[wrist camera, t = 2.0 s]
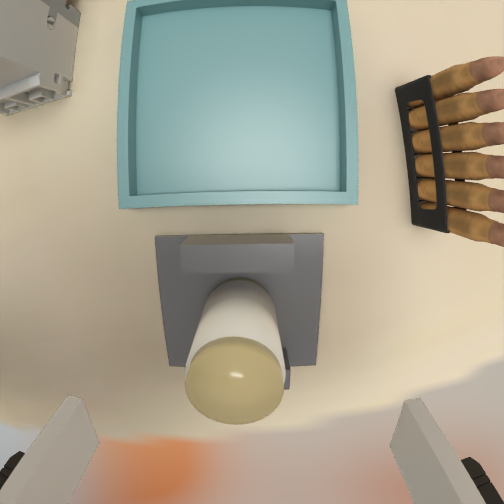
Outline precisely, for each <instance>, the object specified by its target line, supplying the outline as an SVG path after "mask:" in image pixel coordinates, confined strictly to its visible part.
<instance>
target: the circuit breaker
mask: <svg viewBox="0 0 504 504" xmlns="http://www.w3.org/2000/svg"><path fill="white" fill-rule="evenodd" d="M66 2H67V0H0V113H1V114H5V116H9V115H11V114H14V113H17V112H20V111H23V110H26V109H29V108H32V107H35V106H38V105H41V104H45V103H48V102H51V101H55V100H58V99H62V98H66V97H69V96H72V91H70V90H69V91H68V84H69V82H70V81H72V80H73V68H74V58H75V50H76V42H77V34H78V28H79V21H80V15H81V13H80V12H79V11H78V10H77V9H76V8H75V7H74V6H72V5H68V6H66V5H65V4H66ZM44 98H45V99H44Z"/></svg>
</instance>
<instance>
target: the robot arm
mask: <svg viewBox="0 0 504 504" xmlns="http://www.w3.org/2000/svg"><path fill="white" fill-rule="evenodd" d="M99 443H100V442H99V440H98V438H97V435H96V433H95V430H94V428H93V425H92V423H91V420H90V418H89V415H88V412H87V410H86V407H85V404H84V402H83V399H82V398H78V397H73V396H69V395H68V396H67V397H66V399H65V400H64V401H63V402H62V404H61V405H60V406H59V408H58V409H57V410H56V412H55V413H54V414H53V416H52V417H51V418H50V420H49V421H48V423H47V424H46V425H45V427H44V428H43V429H42V431H41V432H40V434H39V435H38V436H37V438H36V439H35V440H34V442H33V443H32V445H31V446H30V447H29V449H28V450H27V452H26V453H23V452H21V451H19V452H18V453H16V454H15V455H13V456H12V457H10V459H9V460H8V461H7V463H6V464H5V465H4V468H2V470H1V471H0V504H69V502H70V500H71V498H72V496H73V494H74V492H75V490H76V487H77V486H78V484H79V481H80V480H81V477H82V476H83V474H84V472H85V470H86V468H87V466H88V464H89V462H90V460H91V458H92V456H93V454H94V452H95V450H96V448H97V447H98V445H99ZM390 448H391V450H392V452H393V455H394V457H395V459H396V461H397V464H398V466H399V469H400V471H401V473H402V475H403V478H404V480H405V483H406V485H407V487H408V490H409V492H410V494H411V497H412V499H413V502H414V504H504V502H503V500H502V499H501V497H500V495H499V494H498V492H497V490H496V489H495V487H494V486H493V484H492V483H491V482H490V479H489V478H488V476H487V475H486V473H485V471H484V470H483V468H482V467H481V465H480V464H479V463H478V462H477V461H475V460H474V459H472V458H471V457H468V458H465V459H463V460H460V459H459V457H458V456H457V454H456V452H455V451H454V449H453V447H452V446H451V444H450V443H449V441H448V440H447V438H446V436H445V435H444V433H443V432H442V430H441V428H440V427H439V425H438V424H437V422H436V421H435V419H434V418H433V416H432V414H431V413H430V411H429V410H428V408H427V407H426V405H425V404H424V402H423V401H422V399H421V398H416V399H410V400H405V401H404V404H403V407H402V410H401V413H400V417H399V419H398V422H397V425H396V429H395V431H394V434H393V437H392V440H391V443H390Z"/></svg>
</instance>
